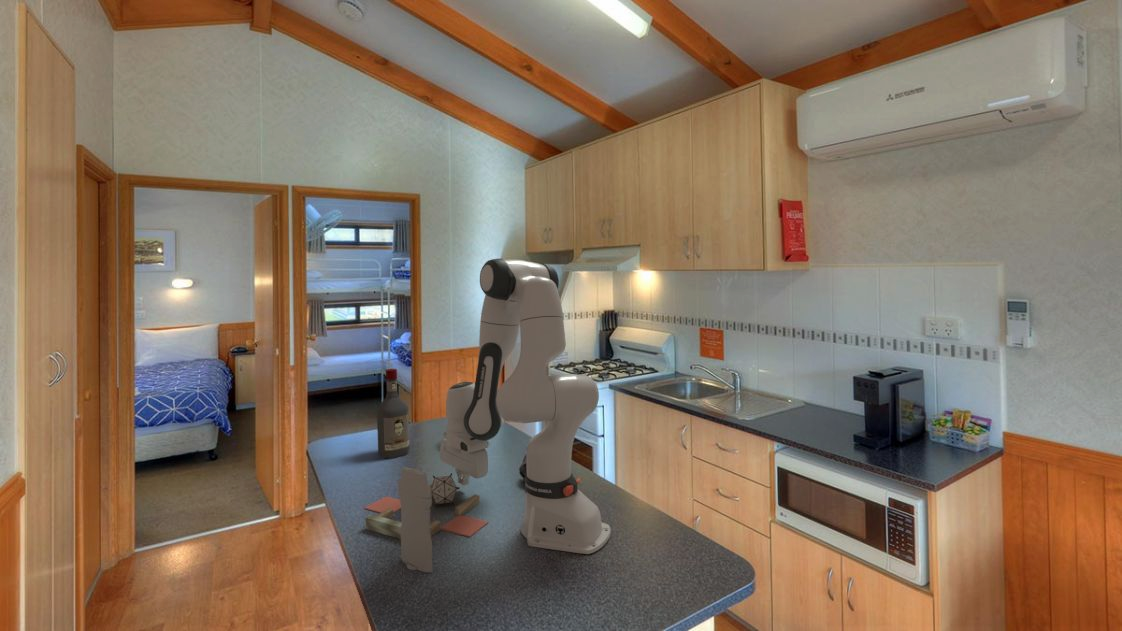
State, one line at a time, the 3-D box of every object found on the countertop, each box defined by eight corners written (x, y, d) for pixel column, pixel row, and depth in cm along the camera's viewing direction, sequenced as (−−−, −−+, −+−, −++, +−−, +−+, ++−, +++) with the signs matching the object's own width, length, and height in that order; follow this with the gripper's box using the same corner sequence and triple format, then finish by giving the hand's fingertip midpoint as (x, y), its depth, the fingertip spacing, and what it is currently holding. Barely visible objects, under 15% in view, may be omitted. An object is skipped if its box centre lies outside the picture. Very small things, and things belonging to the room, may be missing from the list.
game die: (447, 519, 146) (449, 500, 140) (420, 505, 147) (421, 486, 141) (463, 492, 153) (466, 473, 146) (437, 480, 154) (439, 461, 148)
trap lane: (479, 502, 148) (479, 491, 148) (418, 544, 126) (418, 532, 125) (431, 491, 155) (431, 481, 155) (366, 529, 133) (365, 517, 133)
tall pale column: (393, 561, 118) (390, 466, 116) (408, 553, 122) (405, 460, 120) (425, 577, 112) (422, 477, 110) (440, 568, 116) (437, 471, 114)
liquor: (376, 453, 187) (373, 369, 184) (400, 447, 193) (397, 366, 190) (387, 460, 180) (384, 373, 177) (412, 453, 186) (409, 369, 184)
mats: (488, 523, 136) (488, 521, 136) (469, 537, 129) (469, 536, 129) (385, 497, 151) (385, 496, 151) (364, 508, 144) (364, 507, 144)
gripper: (434, 432, 159) (435, 476, 160) (472, 448, 144) (473, 497, 146) (452, 427, 163) (453, 470, 165) (491, 443, 149) (492, 491, 150)
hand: (463, 483), depth 155 cm, fingers closed
